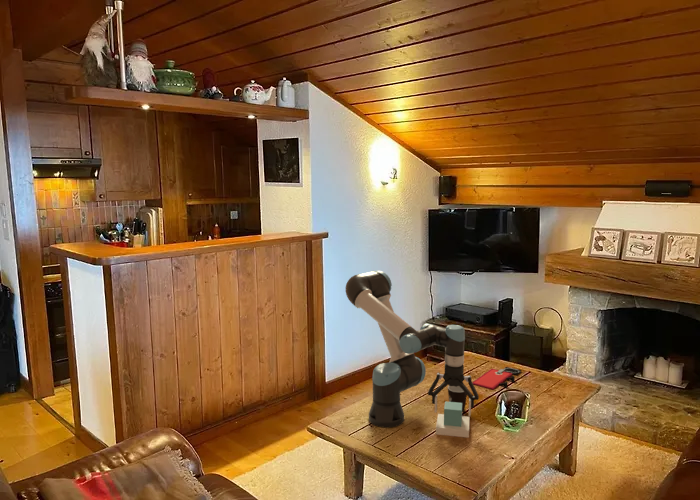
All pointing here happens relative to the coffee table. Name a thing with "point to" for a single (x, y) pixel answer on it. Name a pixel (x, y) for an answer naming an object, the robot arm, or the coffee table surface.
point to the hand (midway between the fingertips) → (452, 412)
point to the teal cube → (453, 414)
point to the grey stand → (452, 427)
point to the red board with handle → (496, 378)
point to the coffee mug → (457, 395)
